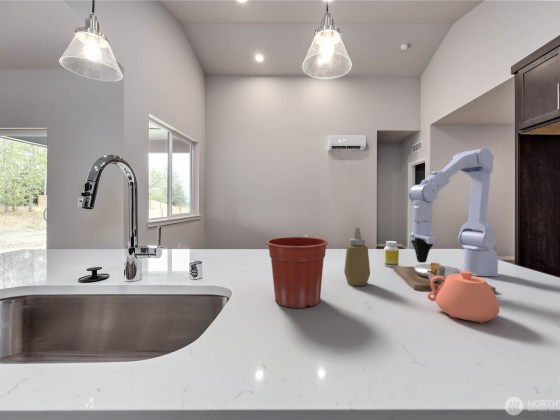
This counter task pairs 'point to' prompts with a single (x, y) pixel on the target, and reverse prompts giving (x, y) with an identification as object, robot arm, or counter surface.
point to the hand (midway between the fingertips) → (421, 261)
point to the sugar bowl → (465, 297)
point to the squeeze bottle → (357, 261)
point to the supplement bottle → (391, 254)
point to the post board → (421, 278)
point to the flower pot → (297, 270)
